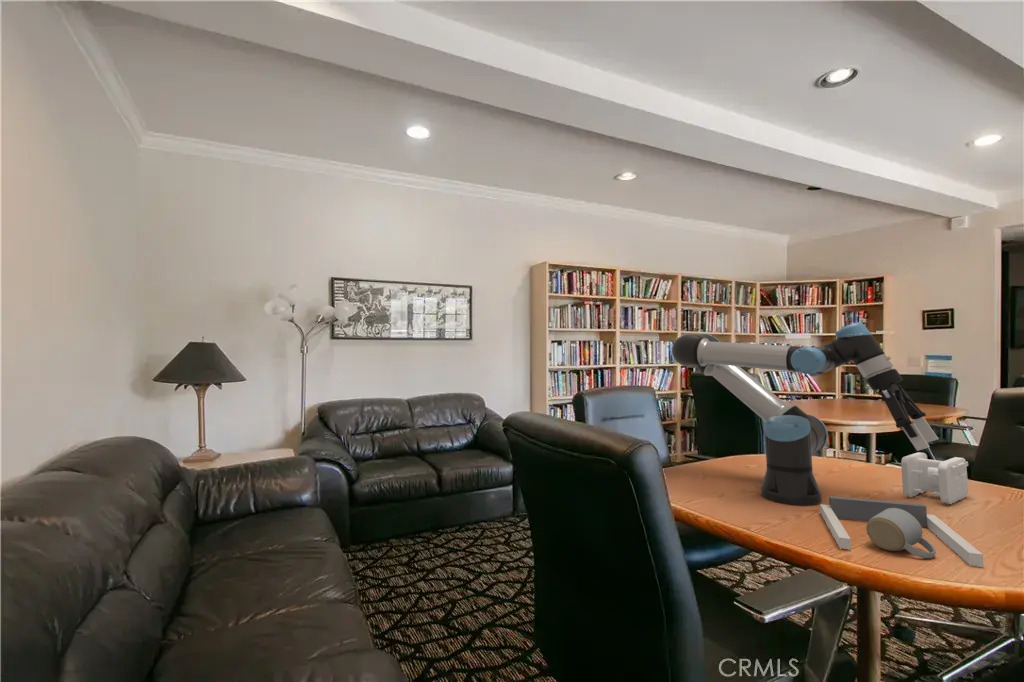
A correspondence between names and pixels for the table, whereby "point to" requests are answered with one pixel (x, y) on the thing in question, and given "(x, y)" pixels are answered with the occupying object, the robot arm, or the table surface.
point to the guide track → (871, 508)
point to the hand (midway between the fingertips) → (928, 444)
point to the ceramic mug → (898, 532)
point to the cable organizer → (935, 477)
